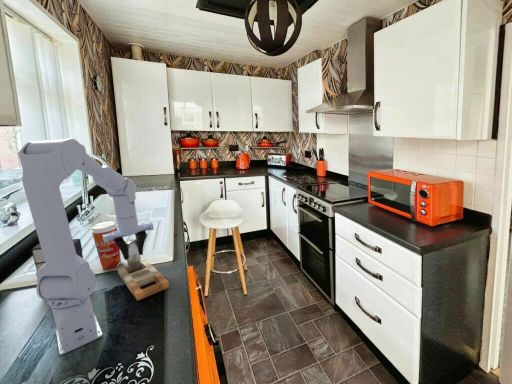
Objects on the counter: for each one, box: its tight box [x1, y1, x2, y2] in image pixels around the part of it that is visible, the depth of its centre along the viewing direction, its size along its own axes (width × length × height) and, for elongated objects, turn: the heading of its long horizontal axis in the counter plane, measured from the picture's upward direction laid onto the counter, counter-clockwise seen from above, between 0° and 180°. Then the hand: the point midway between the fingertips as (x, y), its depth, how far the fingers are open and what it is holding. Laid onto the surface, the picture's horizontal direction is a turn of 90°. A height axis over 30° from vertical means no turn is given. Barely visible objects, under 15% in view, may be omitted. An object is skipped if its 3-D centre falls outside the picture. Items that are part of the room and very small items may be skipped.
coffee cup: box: [90, 220, 122, 270], centre depth 93 cm, size 8×8×15 cm
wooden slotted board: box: [116, 259, 170, 302], centre depth 83 cm, size 20×9×2 cm, turn 40°
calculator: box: [31, 238, 84, 272], centre depth 78 cm, size 11×4×15 cm, turn 105°
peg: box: [124, 238, 142, 268], centre depth 86 cm, size 4×4×8 cm
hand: (133, 256), depth 86 cm, fingers closed on peg, 4 cm apart
